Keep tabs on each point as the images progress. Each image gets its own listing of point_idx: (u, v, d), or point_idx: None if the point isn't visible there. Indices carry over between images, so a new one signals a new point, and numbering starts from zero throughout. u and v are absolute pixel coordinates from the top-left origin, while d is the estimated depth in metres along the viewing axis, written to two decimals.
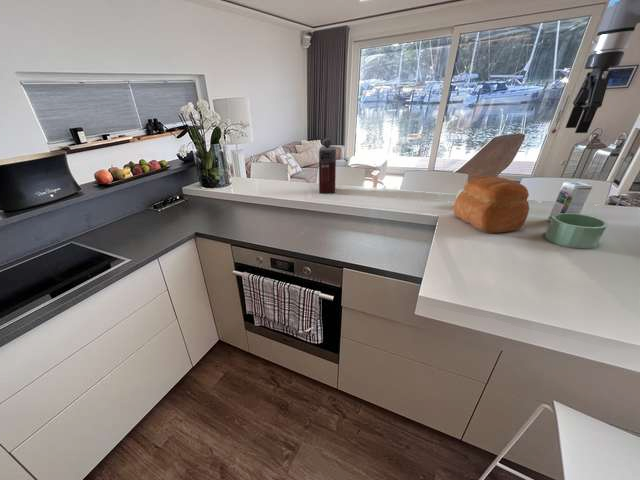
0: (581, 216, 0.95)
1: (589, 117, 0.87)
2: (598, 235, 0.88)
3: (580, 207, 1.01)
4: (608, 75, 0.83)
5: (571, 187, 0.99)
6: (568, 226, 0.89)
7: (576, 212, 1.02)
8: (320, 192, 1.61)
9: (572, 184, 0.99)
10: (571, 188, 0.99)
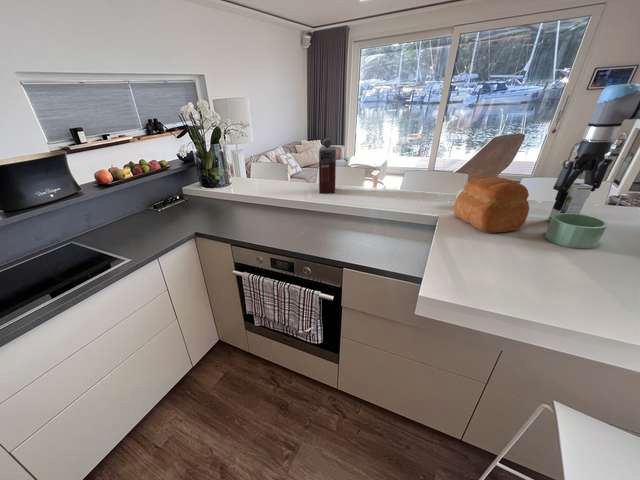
0: (581, 216, 0.95)
1: (557, 197, 1.02)
2: (598, 235, 0.88)
3: (580, 207, 1.01)
4: (568, 166, 0.96)
5: (571, 187, 0.99)
6: (568, 226, 0.89)
7: (576, 212, 1.02)
8: (320, 192, 1.61)
9: (572, 184, 0.99)
10: (571, 188, 0.99)
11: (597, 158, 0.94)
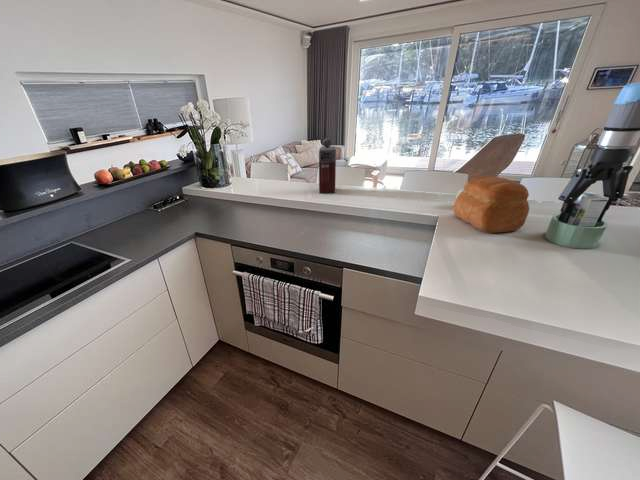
0: None
1: (563, 209, 0.90)
2: (598, 235, 0.88)
3: (594, 221, 0.89)
4: (580, 173, 0.84)
5: (584, 198, 0.87)
6: (568, 226, 0.89)
7: None
8: (320, 192, 1.61)
9: (585, 195, 0.87)
10: (584, 200, 0.87)
11: (614, 167, 0.82)
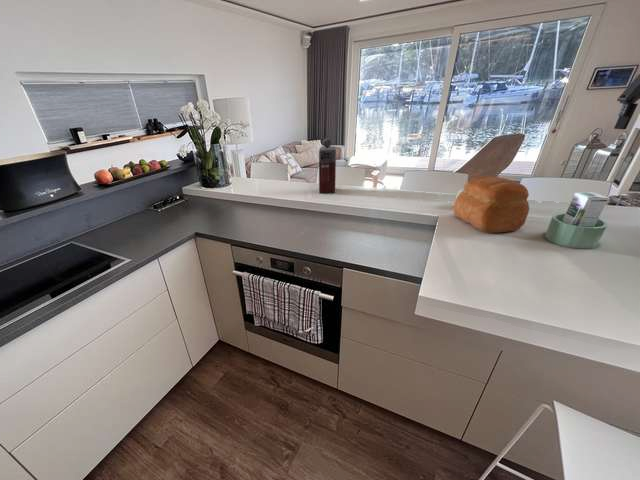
0: None
1: (622, 112, 0.81)
2: (598, 235, 0.88)
3: (594, 221, 0.89)
4: None
5: (584, 198, 0.87)
6: (568, 226, 0.89)
7: None
8: (320, 192, 1.61)
9: (585, 195, 0.87)
10: (584, 200, 0.87)
11: None
